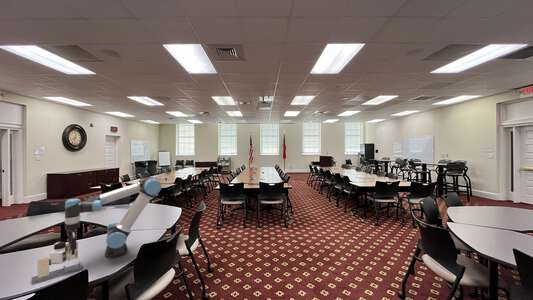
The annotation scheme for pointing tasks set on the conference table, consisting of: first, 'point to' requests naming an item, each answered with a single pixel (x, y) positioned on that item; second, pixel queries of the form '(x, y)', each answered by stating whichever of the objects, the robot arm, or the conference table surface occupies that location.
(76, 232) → the robot arm
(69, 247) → the tan box
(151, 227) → the conference table surface
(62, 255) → the container
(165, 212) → the conference table surface
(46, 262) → the rail
